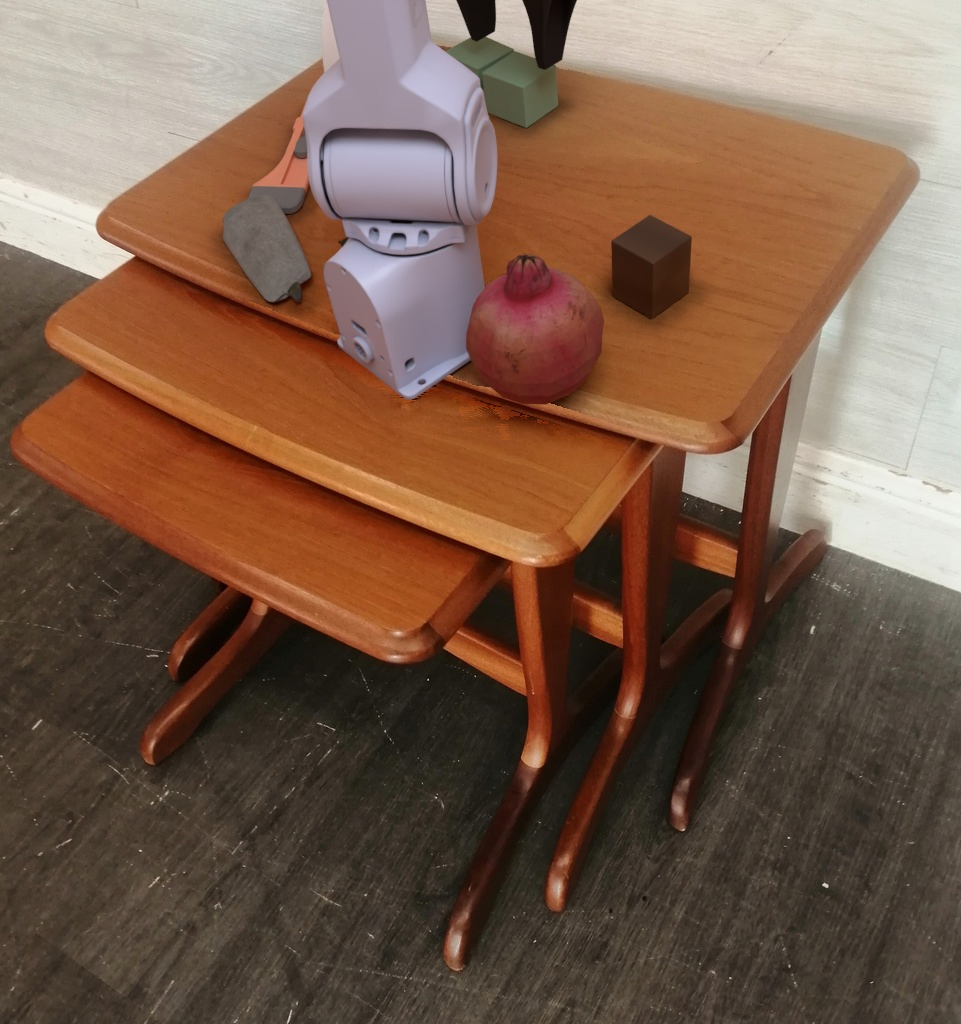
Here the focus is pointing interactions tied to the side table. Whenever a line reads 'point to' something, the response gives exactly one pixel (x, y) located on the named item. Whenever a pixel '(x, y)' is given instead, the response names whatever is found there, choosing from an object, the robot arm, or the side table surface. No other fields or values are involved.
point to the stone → (265, 246)
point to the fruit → (534, 332)
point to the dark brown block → (651, 266)
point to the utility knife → (288, 174)
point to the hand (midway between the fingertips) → (516, 49)
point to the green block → (479, 54)
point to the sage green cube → (520, 89)
